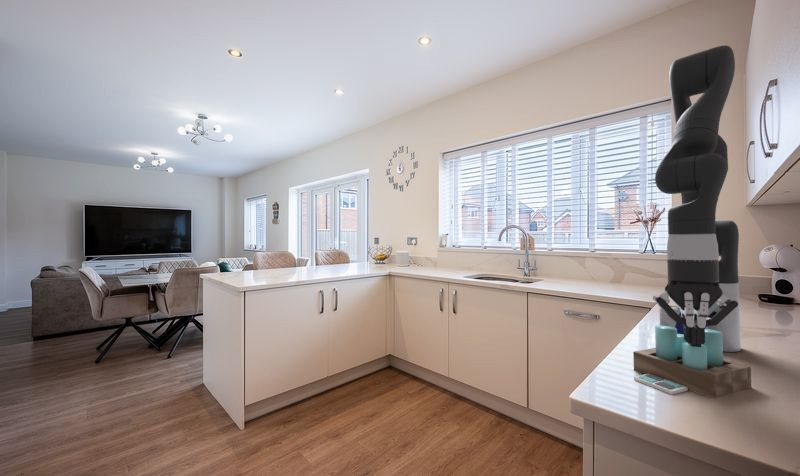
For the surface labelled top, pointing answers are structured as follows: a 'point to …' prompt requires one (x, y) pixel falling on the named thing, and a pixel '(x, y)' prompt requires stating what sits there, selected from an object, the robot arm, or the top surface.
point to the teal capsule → (680, 343)
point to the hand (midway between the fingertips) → (694, 345)
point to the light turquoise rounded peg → (694, 356)
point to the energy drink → (667, 321)
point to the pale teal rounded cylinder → (666, 343)
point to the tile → (661, 383)
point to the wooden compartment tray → (695, 374)
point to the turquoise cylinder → (714, 347)
